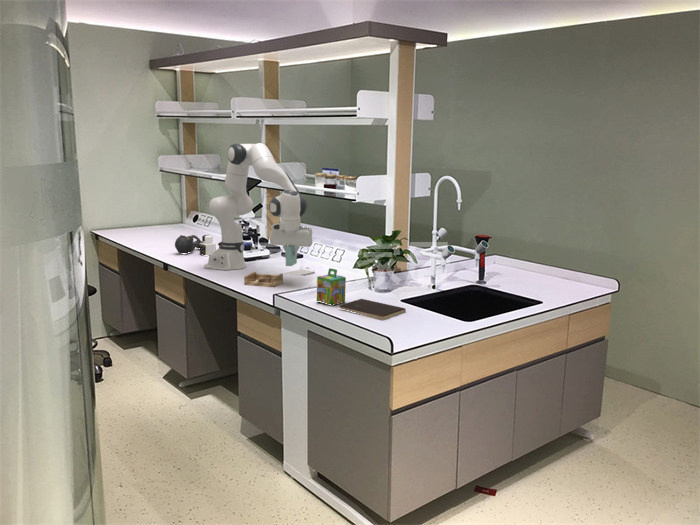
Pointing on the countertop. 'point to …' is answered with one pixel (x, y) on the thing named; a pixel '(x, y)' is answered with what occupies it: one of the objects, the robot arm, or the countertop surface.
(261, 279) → the offcut short
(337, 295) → the green printed box
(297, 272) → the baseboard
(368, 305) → the hardcover book
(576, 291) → the countertop surface
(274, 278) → the rack
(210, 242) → the medicine bottle
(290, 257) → the panel
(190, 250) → the gas mask
